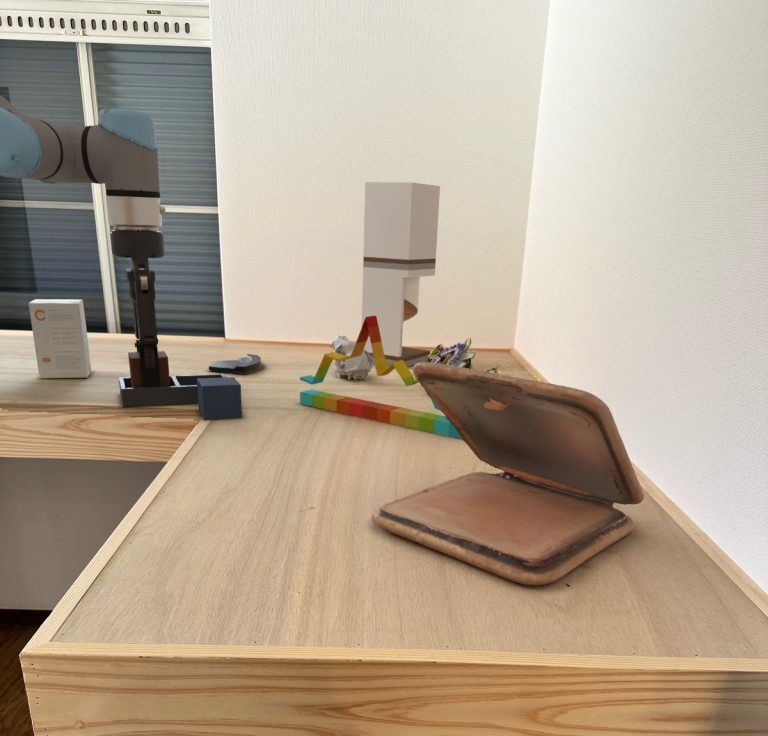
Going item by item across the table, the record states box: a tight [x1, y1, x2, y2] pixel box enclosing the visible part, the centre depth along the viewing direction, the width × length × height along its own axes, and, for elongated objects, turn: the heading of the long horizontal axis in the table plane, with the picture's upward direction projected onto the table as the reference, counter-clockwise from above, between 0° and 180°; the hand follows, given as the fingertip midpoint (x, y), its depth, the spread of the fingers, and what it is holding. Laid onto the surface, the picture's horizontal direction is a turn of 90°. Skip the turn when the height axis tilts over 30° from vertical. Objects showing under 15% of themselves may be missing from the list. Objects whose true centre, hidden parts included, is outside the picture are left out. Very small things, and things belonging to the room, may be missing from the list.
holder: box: [118, 373, 228, 408], centre depth 118 cm, size 17×9×3 cm, turn 111°
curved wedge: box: [208, 353, 262, 375], centre depth 144 cm, size 8×14×2 cm, turn 162°
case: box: [371, 361, 645, 586], centre depth 70 cm, size 20×21×16 cm
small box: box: [27, 298, 92, 379], centre depth 129 cm, size 8×6×13 cm
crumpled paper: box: [330, 335, 375, 381], centre depth 139 cm, size 8×9×12 cm
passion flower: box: [427, 337, 499, 374], centre depth 126 cm, size 11×11×12 cm
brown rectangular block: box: [127, 350, 171, 388], centre depth 115 cm, size 6×6×5 cm
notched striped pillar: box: [361, 181, 441, 367], centre depth 151 cm, size 11×11×35 cm
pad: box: [197, 376, 243, 421], centre depth 109 cm, size 6×6×5 cm
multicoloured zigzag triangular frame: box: [299, 316, 463, 440], centre depth 108 cm, size 30×3×15 cm, turn 55°
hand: (149, 384), depth 116 cm, fingers closed on brown rectangular block, 6 cm apart
